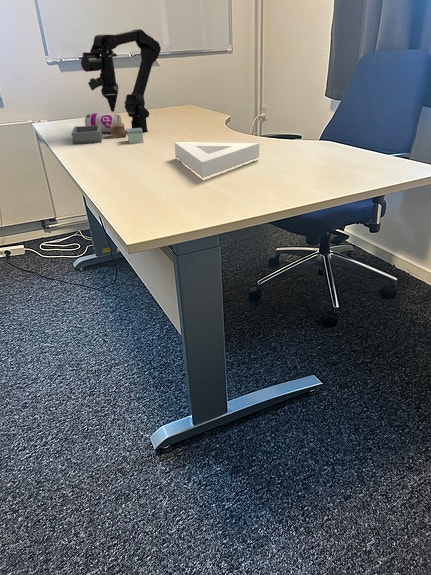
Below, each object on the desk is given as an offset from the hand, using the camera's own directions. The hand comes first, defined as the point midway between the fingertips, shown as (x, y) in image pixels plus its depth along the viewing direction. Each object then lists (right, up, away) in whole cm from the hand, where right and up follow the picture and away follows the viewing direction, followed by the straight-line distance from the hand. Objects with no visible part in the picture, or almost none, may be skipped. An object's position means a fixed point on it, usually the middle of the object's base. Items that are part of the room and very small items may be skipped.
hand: (113, 110), depth 186 cm
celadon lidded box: (+11, -15, -5) cm, 19 cm away
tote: (-11, -13, +1) cm, 17 cm away
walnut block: (+1, -10, +5) cm, 11 cm away
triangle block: (+47, -35, -39) cm, 71 cm away
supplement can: (-15, 0, +14) cm, 20 cm away
